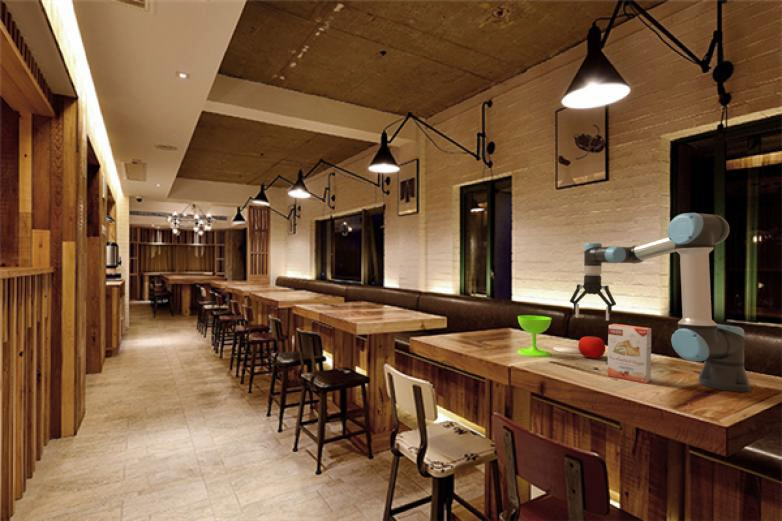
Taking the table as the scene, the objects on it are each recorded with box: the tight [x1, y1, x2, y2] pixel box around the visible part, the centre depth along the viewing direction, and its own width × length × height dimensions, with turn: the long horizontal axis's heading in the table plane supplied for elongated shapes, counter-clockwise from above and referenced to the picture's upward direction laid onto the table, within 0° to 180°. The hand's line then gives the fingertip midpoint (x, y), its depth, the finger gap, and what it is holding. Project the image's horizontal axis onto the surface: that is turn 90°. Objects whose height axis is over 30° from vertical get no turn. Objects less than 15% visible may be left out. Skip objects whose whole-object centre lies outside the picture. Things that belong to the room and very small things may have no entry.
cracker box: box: [607, 323, 652, 385], centre depth 163 cm, size 14×6×21 cm, turn 43°
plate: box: [552, 345, 582, 355], centre depth 214 cm, size 16×16×1 cm
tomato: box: [577, 335, 606, 359], centre depth 199 cm, size 11×12×10 cm
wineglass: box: [517, 315, 552, 358], centre depth 206 cm, size 16×16×18 cm
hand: (592, 318), depth 199 cm, fingers open, 13 cm apart
